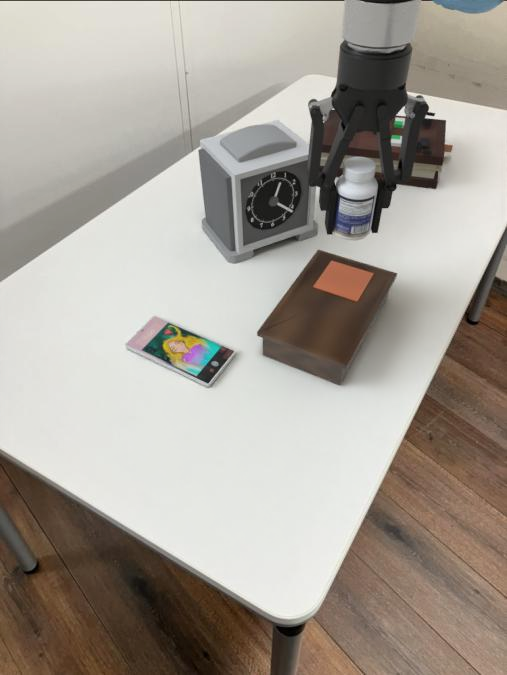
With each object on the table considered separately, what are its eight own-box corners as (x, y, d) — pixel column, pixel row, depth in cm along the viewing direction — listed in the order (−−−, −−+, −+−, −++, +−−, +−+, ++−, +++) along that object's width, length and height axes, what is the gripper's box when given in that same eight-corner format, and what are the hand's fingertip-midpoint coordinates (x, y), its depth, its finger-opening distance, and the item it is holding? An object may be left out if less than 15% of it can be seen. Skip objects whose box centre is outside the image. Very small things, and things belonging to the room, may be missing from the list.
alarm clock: (230, 264, 88) (223, 166, 75) (200, 226, 96) (188, 131, 83) (320, 234, 94) (328, 137, 80) (284, 199, 102) (286, 107, 88)
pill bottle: (338, 215, 73) (346, 150, 66) (375, 224, 71) (387, 158, 64) (325, 235, 69) (331, 169, 62) (363, 245, 68) (374, 178, 61)
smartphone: (208, 385, 69) (123, 345, 75) (209, 388, 70) (124, 348, 75) (236, 351, 74) (154, 315, 79) (236, 354, 74) (154, 318, 79)
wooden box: (391, 297, 82) (397, 272, 78) (342, 389, 69) (347, 364, 66) (316, 273, 86) (318, 248, 82) (257, 355, 74) (256, 330, 70)
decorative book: (320, 102, 115) (458, 114, 109) (317, 134, 121) (449, 148, 115) (302, 141, 102) (458, 157, 96) (300, 175, 108) (447, 193, 102)
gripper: (454, 26, 56) (411, 210, 73) (285, 32, 56) (282, 214, 73) (476, 50, 51) (424, 242, 68) (290, 56, 51) (285, 246, 68)
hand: (350, 227), depth 70 cm, fingers closed on pill bottle, 5 cm apart
